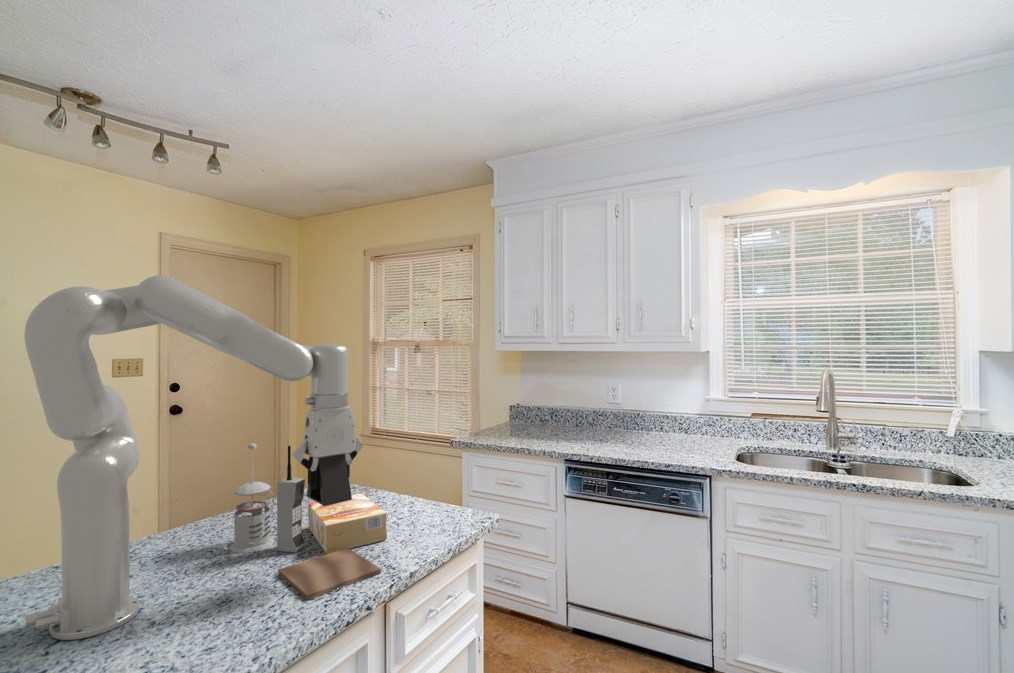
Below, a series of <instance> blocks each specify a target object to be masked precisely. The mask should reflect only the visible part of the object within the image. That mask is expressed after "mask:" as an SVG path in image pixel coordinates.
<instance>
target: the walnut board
mask: <svg viewBox="0 0 1014 673" xmlns="http://www.w3.org/2000/svg"><path fill="white" fill-rule="evenodd" d="M380 574H382V568H381V567H379V566H377V565H375V563H373V562H371V561H370V560H368V559H366V558H365V557H363V556H361V555H360V554H358V553H357V552H356V551H354V550H352V548H350V549H349V548H346V549H342V550H339V551H336V552H333V553H329V554H327V553H326V554H324V555H320V556H317V557H315V558H312V559H308V560H306V561H302V562H299V563H295V564H292V565H289V566H286V567H283V568H280V569H278V575H279V576H280V577H281V578H282V579H283V580H284V581H285V582H287V583H288V585H290V586H291V587H292V588H293V589H294V590H295V591H297V593H299V594H300V595H301V596H302V597H303V598H304V599H306V601H310V600H313V599H315V597H316V598H319V597H321V596H323V595H322V594H324V595H326V594H328V593H327V592H329V593H331V592H330V591H332V590H334V591H336V590H335V589H337V588H340V587H343V586H345V587H347V586H346V585H348V586H350V585H349V584H351V585H353V584H356V583H358V581H359V582H361V581H363V580H366V579H369V578H372V577H375V576H377V575H380ZM355 582H356V583H355ZM352 583H353V584H352ZM343 588H344V587H343ZM340 589H341V588H340ZM337 590H338V589H337ZM332 592H333V591H332ZM325 593H326V594H325ZM320 595H321V596H320Z"/></svg>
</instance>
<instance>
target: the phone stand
mask: <svg viewBox="0 0 1014 673" xmlns="http://www.w3.org/2000/svg"><path fill="white" fill-rule="evenodd" d="M317 470H318V471H319V489H318V490H314V489H312V488H310V486H309V485H308V484H307V485H308V486H307V491H306V498H309V499H311V500H312V501H314V502H318V503H319V504H321V505H323V506H327V505H332V504H336V503H340V502H344V501H348V500H352V495H353V494H352V491H351V490H352V489H351V484H350V477H349V476H348V470H347V463H346V457H345V454H341V455H335V456H329V457H323V458H319V463H318V465H317Z"/></svg>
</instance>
